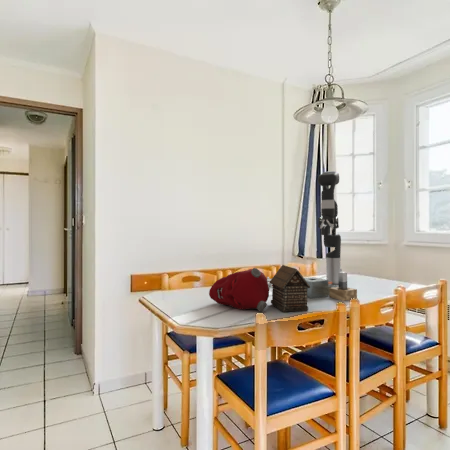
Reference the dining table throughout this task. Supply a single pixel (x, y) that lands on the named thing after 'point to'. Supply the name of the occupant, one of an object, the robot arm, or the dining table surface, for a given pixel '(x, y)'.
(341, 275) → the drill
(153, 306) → the dining table surface
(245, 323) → the dining table surface
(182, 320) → the dining table surface
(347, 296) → the brown square box
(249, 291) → the mask
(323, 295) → the grey tissue box
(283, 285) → the model building
